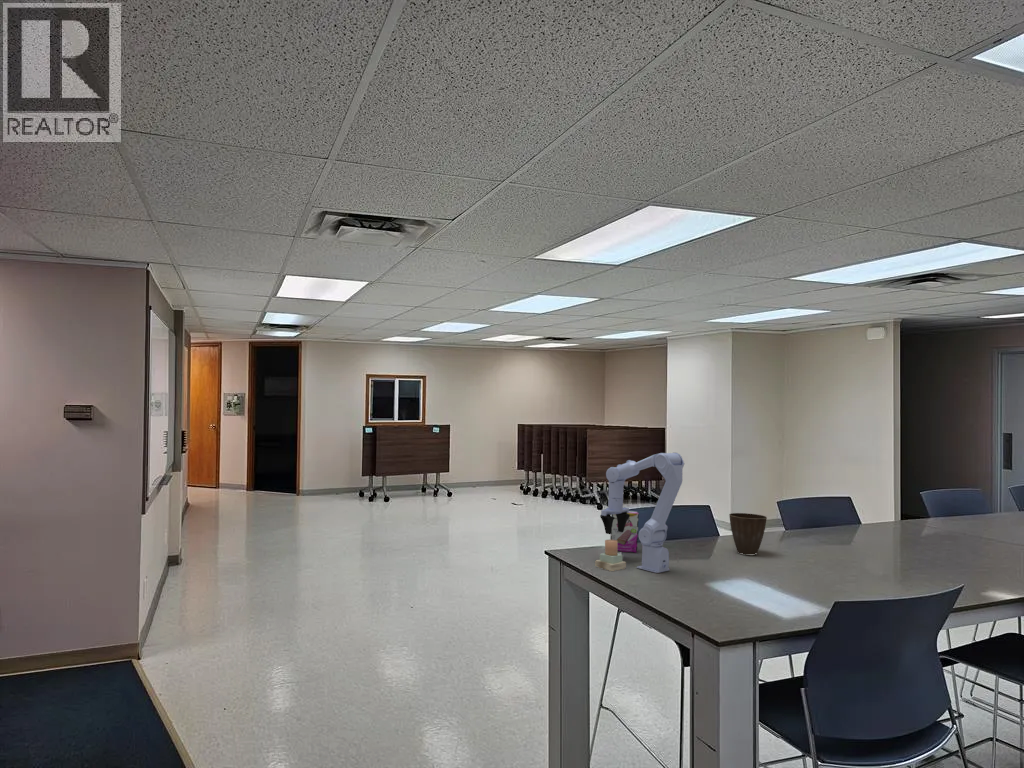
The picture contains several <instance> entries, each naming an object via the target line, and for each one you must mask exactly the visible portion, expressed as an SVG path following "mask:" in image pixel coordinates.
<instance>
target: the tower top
mask: <svg viewBox="0 0 1024 768" xmlns="http://www.w3.org/2000/svg"><path fill="white" fill-rule="evenodd" d="M623 555H624V554H620V553H618V555H615V556H610V555H605V552H603V553H600V554H599V560H600V561H602V562H607V563H611V564H615V563H619V562H622V561H623Z"/></svg>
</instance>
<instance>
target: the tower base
mask: <svg viewBox="0 0 1024 768" xmlns="http://www.w3.org/2000/svg"><path fill="white" fill-rule="evenodd" d="M594 563H595V564H594V567H595V566H597V567H600V568H603V569H602V570H604V569H606V570H605V571H607V570H609V571H608V572H611V571H613V572H616V571H615V570H617V571H621V570H620V569H622V570H626V569H627V562H626V561H623V560H622V562H619V563H615V564H611V563H607V562H602V561H600V559H597V560H595V562H594ZM600 568H599V569H600ZM625 568H626V569H625Z"/></svg>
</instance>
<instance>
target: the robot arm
mask: <svg viewBox="0 0 1024 768" xmlns="http://www.w3.org/2000/svg"><path fill="white" fill-rule="evenodd" d="M684 465H685V461H684V459H683V457H682V456H681V454H680V453H678V452H660V453H656V454H652V455H650V456H648V457H646V458H644V459H641V460H639V461H637V462H636V461H635V460H631V459H628V460H626V462H625V463H622V464H617V465H616V467H614V466H611V467H609V468H608V469H607V470H606V472H605V477H606V479H607V480H608V494H607V495H608V496H607V497H608V498H607V499H608V501H607V502H608V503H607V507H606V508H605V509H601V511H600V517H599V518H600V519H601V521H602V523H603V526H604V531H605V534H606V535H607V534H608V535H611V531H612V523H613V520H614V517H611V515H613V514H616V516H617V521H618V532H623V531H624V528H625V525H626V522H627V520H628V518H629V517H630V514H627V513H629V511H630V508H629V507H624V485H625V482H626V480H627V479H630V478H632V477H635V476H637V475H639V474H640V471H642V470H645V469H649V468H651V467H653V468H656V469H657V470H658V472H659V473H660V474H661V476H662V477H663V478H664V481H665V482H664V485H663V487H662V490H661V492H660V494H659V496H658V497H659V498H658V500H657V501H656V505H655V506H654V509H653V512H652V514H651V517H650V519H648V520H647V521H646V522H645V523H644V525H643V526H642V528H640V529H639V530H638V540H639V541H640V543H641V545H642V546H641V547H642V549H641V565H637V566H636V569H640V570H643V571H648V572H651V573H654V574H658V573H665V572H668V571H671V569H670V568H669V565H670V553H669V549H668V548H666V547H664V542H665V541H666V539H667V531H668V528H669V527H668V525H667V524H666V523H667V520H668V518H669V515H670V512H671V511H672V508H673V506H674V503H675V501H676V497H678V494H679V491H680V489H681V486H682V484H683V468H684Z"/></svg>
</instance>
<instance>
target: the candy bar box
mask: <svg viewBox="0 0 1024 768" xmlns="http://www.w3.org/2000/svg"><path fill="white" fill-rule="evenodd" d="M627 514H630V517H629V518H628V520H627V522H626V525H625V528H624V531H623V532H618V521H617V516H616V514H613V515H610V516H611V517H614V520H613V523H612V531H611V534H609V535H610V536H609V537H610V538H609V540H617V541H618V553H632V552H633V554H634V553H637V554H638V542H639V541H638V540H639V536H638V535H639V517H640V516H639V515H640V514H639V512H638V511H631V510H629V513H627Z"/></svg>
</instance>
